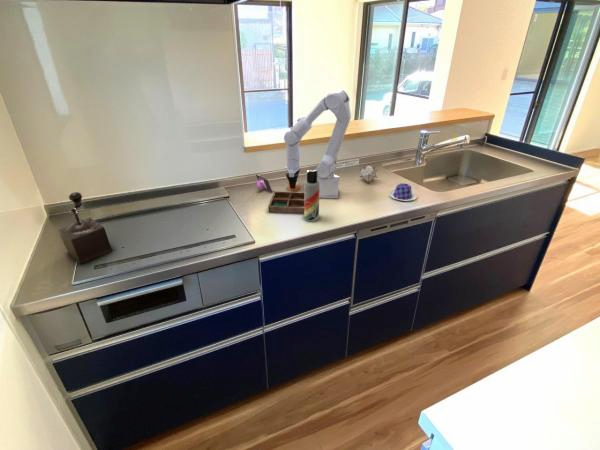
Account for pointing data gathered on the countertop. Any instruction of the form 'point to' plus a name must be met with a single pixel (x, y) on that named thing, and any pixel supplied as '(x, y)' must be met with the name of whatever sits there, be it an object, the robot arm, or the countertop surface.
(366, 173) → the grey spiky ball
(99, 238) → the brown coffee grinder
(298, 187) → the token
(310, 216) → the lotion bottle
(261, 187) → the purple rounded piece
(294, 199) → the grid
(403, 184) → the pudding
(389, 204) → the countertop surface
